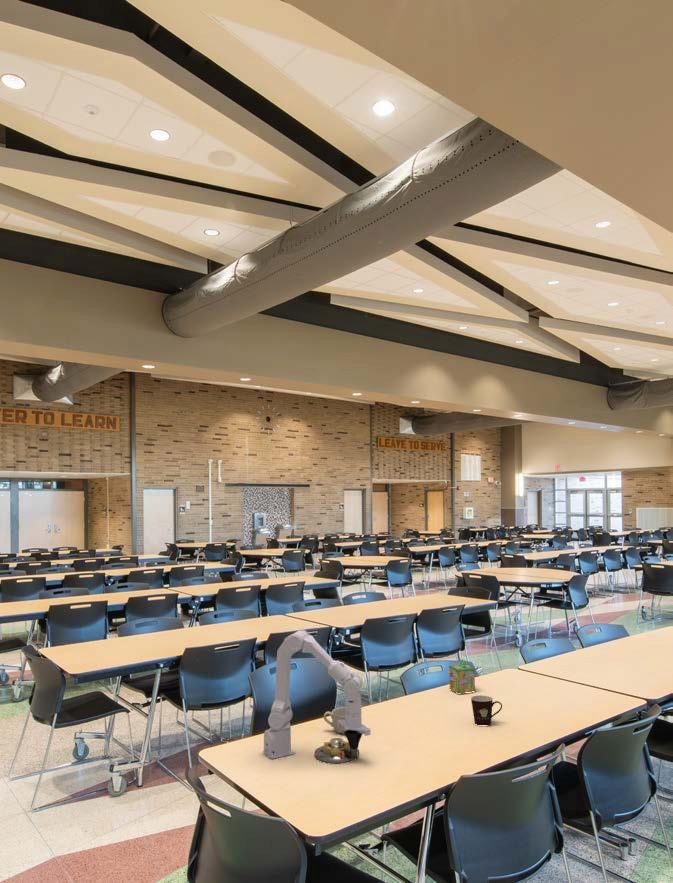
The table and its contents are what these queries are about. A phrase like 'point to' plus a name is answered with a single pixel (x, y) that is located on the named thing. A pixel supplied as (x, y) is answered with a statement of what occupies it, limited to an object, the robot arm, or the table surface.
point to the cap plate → (334, 759)
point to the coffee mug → (483, 709)
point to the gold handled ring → (336, 750)
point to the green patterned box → (462, 678)
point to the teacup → (336, 719)
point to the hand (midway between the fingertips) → (354, 751)
